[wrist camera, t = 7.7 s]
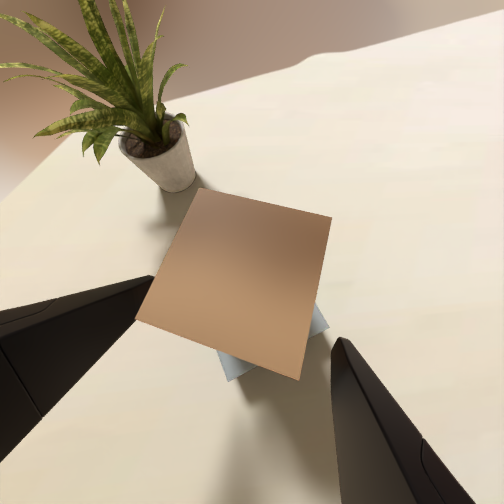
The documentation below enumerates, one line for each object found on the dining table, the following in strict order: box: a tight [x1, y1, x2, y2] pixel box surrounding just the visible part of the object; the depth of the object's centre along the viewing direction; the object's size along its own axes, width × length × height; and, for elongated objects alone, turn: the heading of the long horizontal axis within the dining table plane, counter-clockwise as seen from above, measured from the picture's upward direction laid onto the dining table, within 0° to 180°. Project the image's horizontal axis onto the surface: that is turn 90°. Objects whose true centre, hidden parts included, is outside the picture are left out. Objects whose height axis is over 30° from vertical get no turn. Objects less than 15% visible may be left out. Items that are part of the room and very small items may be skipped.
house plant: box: [0, 0, 196, 193], centre depth 18 cm, size 14×14×16 cm
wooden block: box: [135, 187, 332, 381], centre depth 11 cm, size 5×5×11 cm
